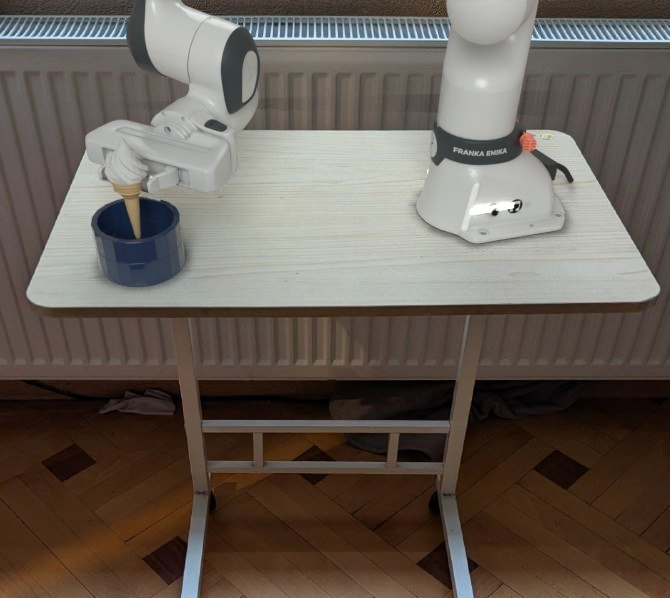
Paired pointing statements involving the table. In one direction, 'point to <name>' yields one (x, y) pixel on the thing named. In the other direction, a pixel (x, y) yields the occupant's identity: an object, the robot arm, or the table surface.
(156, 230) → the pot
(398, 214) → the table surface
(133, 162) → the ice cream cone
